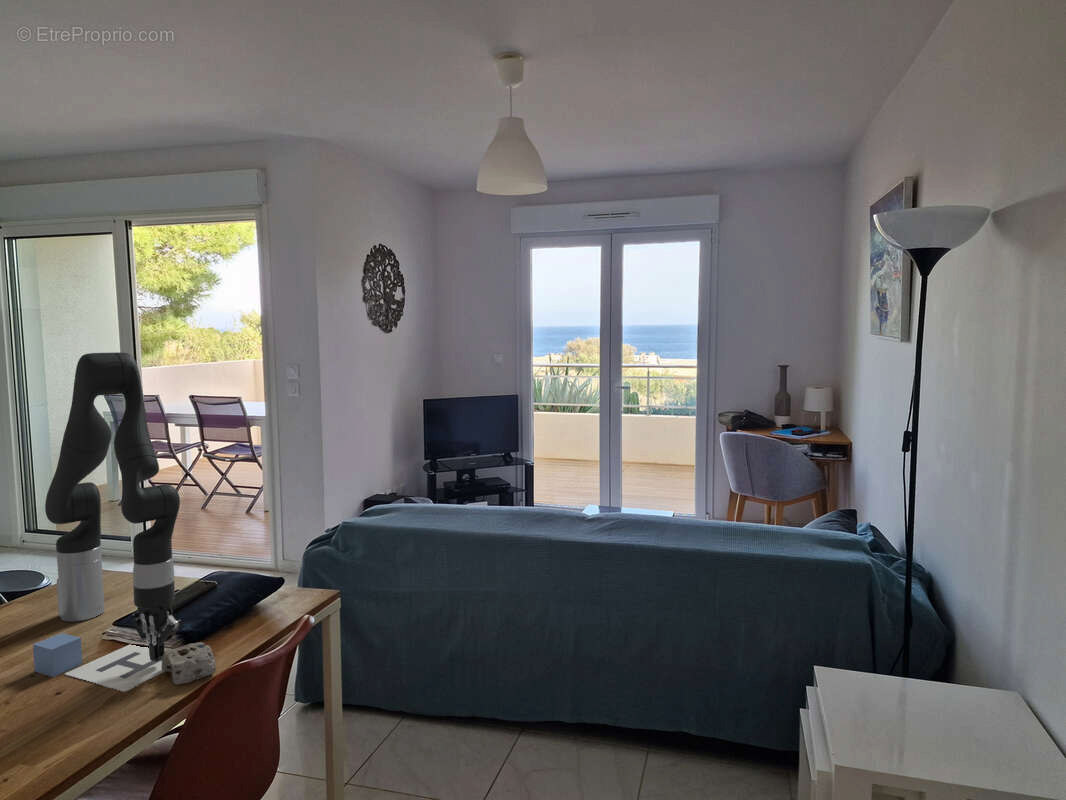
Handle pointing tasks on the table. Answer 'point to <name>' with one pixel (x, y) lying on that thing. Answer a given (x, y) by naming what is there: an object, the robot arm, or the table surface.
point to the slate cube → (57, 654)
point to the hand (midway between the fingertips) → (157, 659)
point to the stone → (189, 662)
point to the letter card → (120, 668)
